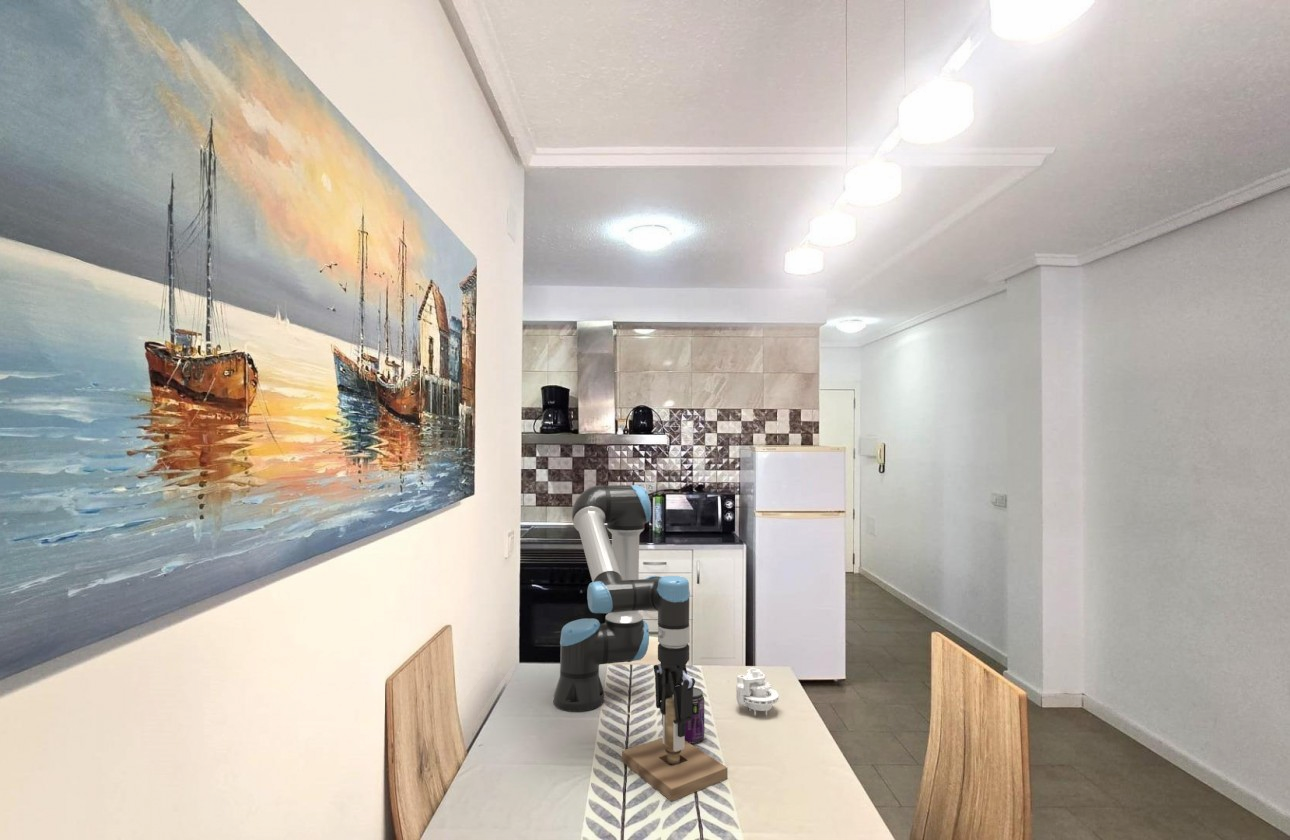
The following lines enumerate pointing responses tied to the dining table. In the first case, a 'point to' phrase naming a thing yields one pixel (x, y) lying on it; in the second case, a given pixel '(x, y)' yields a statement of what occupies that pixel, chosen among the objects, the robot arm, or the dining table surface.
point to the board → (674, 768)
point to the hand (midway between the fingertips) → (673, 745)
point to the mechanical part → (755, 691)
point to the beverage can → (696, 718)
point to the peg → (671, 733)
